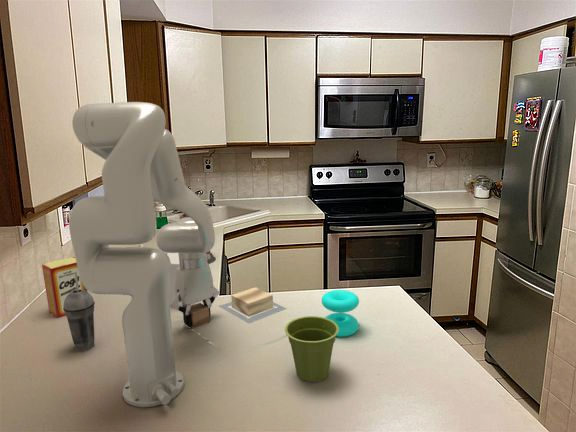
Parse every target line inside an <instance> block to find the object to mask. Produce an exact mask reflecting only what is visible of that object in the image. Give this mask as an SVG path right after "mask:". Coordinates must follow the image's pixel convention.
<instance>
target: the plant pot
mask: <svg viewBox="0 0 576 432" xmlns="http://www.w3.org/2000/svg"><path fill="white" fill-rule="evenodd" d="M284 332H285V334H286V335H287V337H288V342H289V344H290V347H291V352H292V357H293V362H294V367H295V371H296V372H295V373H296V375H297V377H298V378H299V379H300V380H302V381H308V382H309V383H318V382H321V381H324V380H325V379H326V378H327V377H328V375H329V372H330V365H331V360H332V354H333V349H334V344H335V342H336V337H337V336H336V335H337V334H338V332H339V327H338V325H337V324H336V323H335V322H334V321H332V320H330V319H327V318H325V317H323V316H319V315H318V316H316V315H305V316H301V317H296V318H294V319H292V320H290V321H288V323H286V325H285V326H284Z"/></svg>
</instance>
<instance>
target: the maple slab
mask: <svg viewBox="0 0 576 432" xmlns="http://www.w3.org/2000/svg"><path fill="white" fill-rule="evenodd" d="M230 296H231V297H230V298H231V302H232V307H233V308H235V309H236V310H238V311H240V312H242V313H244V314H245V315H247V316H252V315H254V314H257V313H260V312H262V311H265V310H268V309H270V308H273V302H274V296H273V294H271V293H269V292H267V291H264V290H262V289H260V288H259V287H257V286H255V287H252V288H249V289H245V290H242V291H239V292H237V293H236V292H235V293H234V294H231V295H230Z"/></svg>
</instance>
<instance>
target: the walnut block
mask: <svg viewBox="0 0 576 432" xmlns="http://www.w3.org/2000/svg"><path fill="white" fill-rule="evenodd" d="M190 314H191V317H192V328H191V329H192V330H193V331H195V328H198V327H200V326H204V325H206V324H209V323H210V322H211V316H210V317H209V308H208V307H207V306H205V305H204V304H203V302H196V303H194V304H193V305H191V307H190Z"/></svg>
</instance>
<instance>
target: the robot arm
mask: <svg viewBox="0 0 576 432" xmlns="http://www.w3.org/2000/svg"><path fill="white" fill-rule="evenodd" d="M166 120H167V119H166V114H165V112H164V109H162V107H160V106H159V105H157V104H155V103H152V102H142V101H127V102H126V101H124V102H103V103H102V102H101V103H89V104H84V105H82V106H80V107H78V108H77V109H76V110H75V112H74V113H73V117H72V123H71V124H72V130H73V133H74V136H75V138H76V139H77V140H78V141H79V143H80V144H81V145H82V146H83V147H84V148H86V149H87V150H89V151H91V152H92V153H94V154H95V155H97V156H99V157H100V158H101V159H103V160H104V161H105V162H104V164H103V166H102V170H101V180H102V188H103V193H104V195H103V196H102V195H101V196H100V195H98V196H87V197H82V198H81V199H79V200H78V201H77V202H76V203H74V205H73V207H72V209H71V212H70V215H69V219H68V220H69V221H68V224H69V225H68V228H69V235H70V239H71V245H72V249H73V252H74V253H73V254H74V257H75V258H76V263H77V267H78V271H79V275H80V279H81V282H82V284H83V286H84V287H85V289H86V290H87V292H88V293H90V294H91V293H92V294H94V295H95V294H96V295H122V296H130V297H131V300H130V302H129V303H128V304H127V305H126V307H125V308H124V310H123V312H122V317H121V322H122V323H121V324H122V329H123V336H124V337H123V338H124V345H125V353H126V356H125V357H126V363H127V372H128V378H129V379H128V381H127V382H126V383H125V384H124V386H123V388H122V396H123V400H124V401H125V402H126V403H127V404H128V405H131V406H133V407H136V408H152V407H156V406H160V405H163V406H165V405H168V404H169V403H170V402H171V400H173V399H174V398H177V396H178V395H179V394H180V393H181V392H182V391H183V389H184V387H185V377H184V375H183V374H182V373H181V372H180V371H178V370H176V368H177V367H176V360H175V359H176V358H175V348H174V337H173V329H172V328H173V326H172V316H171V308H172V309H174V310H177V311H179V312H181V313H182V314H183V315H182V317H183V324H184V325H185V326H186V327H187V328H189V329H192V328H193V327H192V317H191V314H190V307H191V304H193V303H194V304H197V303H200V302H202V304H203V305H205V306H207V307H208V308H209V317H210V318H211V316H212V315H211V308H212V306H213V303H214V301H215V300H216V298H217V297H218V296H219V294H220V291H219V290H218V289H217V288H216V287H215V285H214V280H213V274H212V271H211V266H210V264H208V262H207V260H208V259H210V258H211V256H210V254H206V252H208V251H210V252H211V251H212V249H213V248H214V246H215V243H216V242H215V241H216V238H215V237H216V234H215V228H214V227H215V226H214V223H213V222H214V221H213V217H212V215H211V211H210V209H209V208H208V206H207V205H206V203H205V202H204V201H203V200H202V199H201V198H200V197H199V196H198V195H197V194H196V193H195V192H194V191H192V190H191V189H190V188H188V187H187V185H186V181H185V177H184V174H183V169H182V165H181V162H180V158H179V157H180V156H179V153H178V149H177V146H176V145H177V144H176V142H175V138H174V135H173V134H172V133H171V132H170V130H168V129H166V124H167V123H166V122H167V121H166ZM154 201H155V202H156V203H159V204H161V205H162V206H166V207H167V208H170V209H172V210H176V211H177V212H181V214H186V215H188V216H189V217H186V218H182V219H180V218H179V219H178V220H177V221H176V222H171V223H170V222H169V223H167V224H164V225H163V226H161V227H160V229H159V230H158V232H157V218H156V217H157V216H156V209H155V202H154ZM156 234H157V235H156ZM155 236H156V239H155V240H156V245H157V247H158V248H159V249H158V248H154V247H147V246H146V247H145V246H140V247H139V246H137V247H136V246H132V245H142V244H146V243H149V242H150V241H152V240H153V238H155ZM112 245H113V246H116V245H117V246H120V245H121V247H113V246H112ZM122 245H123V246H124V247H122ZM130 245H131V247H130ZM111 246H112V247H111ZM125 246H126V247H125ZM127 246H128V247H127ZM166 253H178V254H179V266H180V267H179V268H177V270H176V278H175V298H174V300H173V302H172V303H171V307H170V299H169V291H170V277H171V262H170V259H169V257H168V255H167V254H166ZM180 301H182V307H181V306H180V305H178V303H179V302H180ZM194 304H193V305H194Z"/></svg>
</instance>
